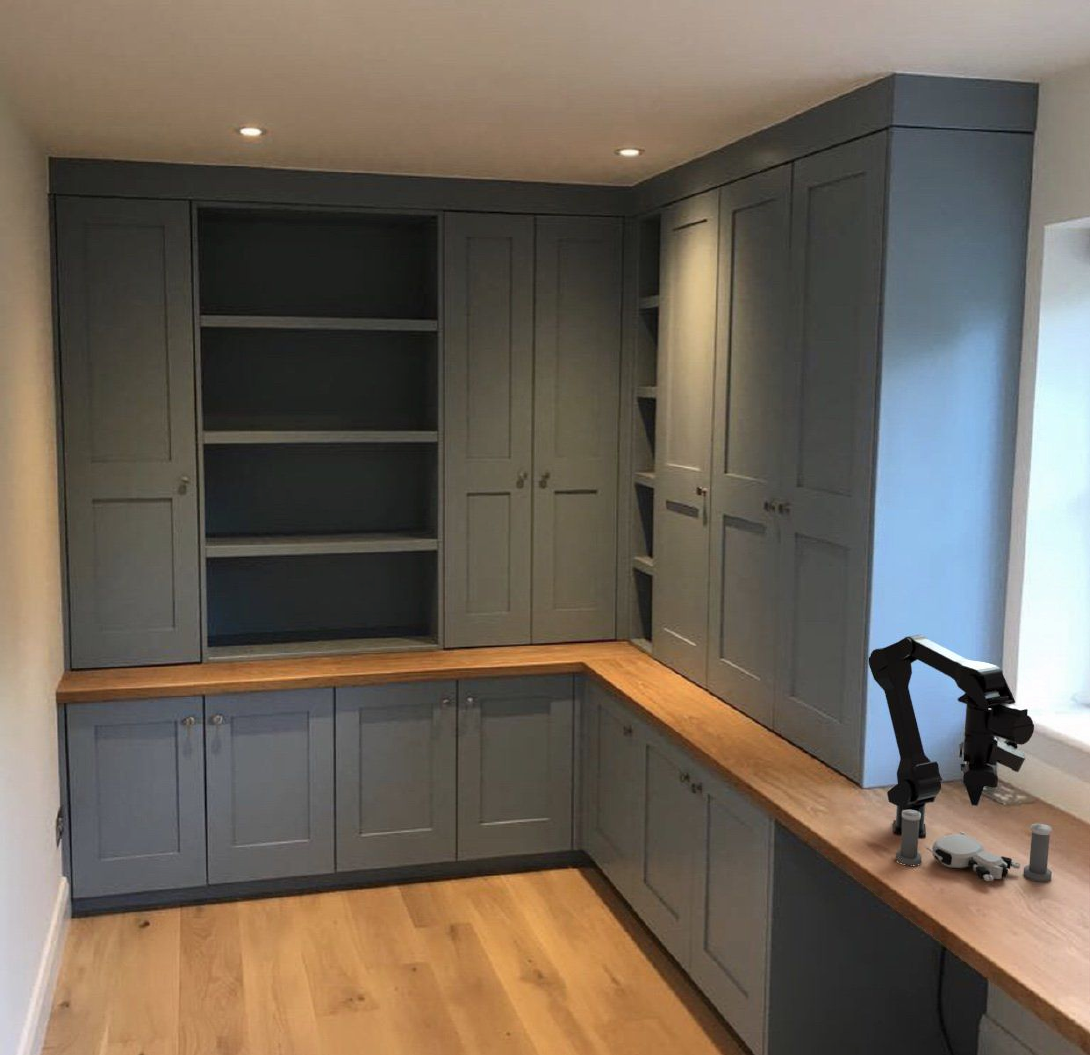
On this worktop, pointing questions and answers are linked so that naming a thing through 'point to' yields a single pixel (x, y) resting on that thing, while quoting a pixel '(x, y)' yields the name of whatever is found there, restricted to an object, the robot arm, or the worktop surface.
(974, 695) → the robot arm
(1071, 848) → the worktop surface
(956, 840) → the robot toy
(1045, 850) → the tube
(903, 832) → the tube
